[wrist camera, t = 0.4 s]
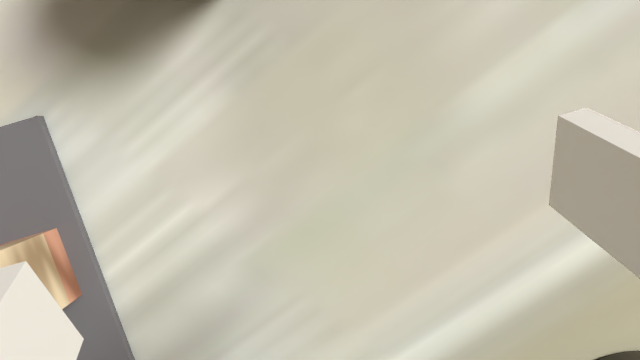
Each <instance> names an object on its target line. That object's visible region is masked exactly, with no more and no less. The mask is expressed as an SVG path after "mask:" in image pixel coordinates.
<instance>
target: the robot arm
mask: <svg viewBox="0 0 640 360" xmlns="http://www.w3.org/2000/svg"><path fill="white" fill-rule="evenodd" d="M549 205H550V206H551V207H552V208H553V209H555V210H556V211H557V212H558V213H560V214H561V215H562V216H563V217H564V218H566V219H567V220H568V221H569V222H571V223H572V224H573V225H574V226H576V227H577V228H578V229H579V230H580V231H582V232H583V233H584V234H585V235H587V236H588V237H589V238H590V239H592V240H593V241H594V242H595V243H597V244H598V245H599V246H600V247H601V248H603V249H604V250H605V251H606V252H608V253H609V254H610V255H611V256H613V257H614V258H615V259H616V260H617V261H619V262H620V263H621V264H622V265H624V266H625V267H626V268H627V269H629V270H630V271H631V272H632V273H634V274H635V275H636V276H637V277H638V278H640V132H638V131H636V130H634V129H632V128H630V127H628V126H625V125H623V124H621V123H619V122H617V121H614V120H612V119H610V118H608V117H606V116H604V115H601V114H599V113H597V112H595V111H593V110H590V109H588V108H583V109H580V110H576V111H572V112H569V113H565V114H561V115H558V121H557V131H556V140H555V150H554V160H553V170H552V179H551V189H550V199H549ZM83 340H84V339H83V337H82V336H81V334H80V333H79V332H78V330H77V329H76V328H75V326H74V325H73V324H72V322H71V321H70V320H69V318H68V317H67V316H66V314H65V313H64V312H63V310H62V309H61V308H60V306H59V305H58V303H57V302H56V301H55V299H54V298H53V297H52V295H51V294H50V293H49V291H48V290H47V289H46V287H45V286H44V285H43V283H42V282H41V281H40V279H39V278H38V277H37V275H36V274H35V272H34V271H33V270H32V268H31V267H30V266H29V264H28V263H27V262H26V261H24V262H20V263H17V264H13V265H9V266H6V267H2V268H0V360H76V359H77V357H78V354H79V351H80V348H81V345H82V343H83ZM598 360H640V351H630V352H622V353H617V354H613V355H610V356H606V357H603V358H601V359H598Z"/></svg>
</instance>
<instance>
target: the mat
mask: <svg viewBox="0 0 640 360" xmlns="http://www.w3.org/2000/svg"><path fill="white" fill-rule="evenodd" d="M55 228H57V230H58V233H59V235H60V238H61V241H62V243H63V246H64V248H65V251H66V254H67V256H68V259H69V261H70V264H71V267H72V269H73V272H74V274H75V277H76V280H77V282H78V285H79V287H80V290H81V293H82V295H81V296H80V297H78V298H77V299H76V300H74V301H73V302H71V303H70V304H69V305H67V306H66V307H65V308H63V309H62V310H63V312H64V313H65V314H66V316H67V317H68V318H69V320H70V321H71V322H72V324H73V325H74V326H75V328H76V329H77V330H78V332H79V333H80V334H81V336H82V337H83V339H84V340H83V343H82V345H81V348H80V351H79V354H78V357H77V359H76V360H135V359H134V357H133V354H132V352H131V349H130V346H129V344H128V341H127V338H126V336H125V333H124V330H123V328H122V325H121V322H120V320H119V317H118V314H117V312H116V309H115V306H114V304H113V301H112V298H111V296H110V293H109V290H108V288H107V285H106V282H105V280H104V277H103V274H102V272H101V269H100V266H99V264H98V261H97V258H96V256H95V253H94V250H93V248H92V245H91V242H90V240H89V237H88V234H87V232H86V229H85V226H84V224H83V221H82V219H81V216H80V213H79V211H78V208H77V205H76V203H75V200H74V197H73V195H72V192H71V189H70V187H69V184H68V181H67V179H66V176H65V173H64V171H63V168H62V165H61V163H60V160H59V157H58V155H57V152H56V149H55V147H54V144H53V141H52V139H51V136H50V133H49V131H48V128H47V125H46V123H45V120H44V117H43V116H36V117H33V118H29V119H26V120H23V121H19V122H16V123H12V124H9V125H6V126H2V127H0V245H1V244H4V243H7V242H11V241H14V240H18V239H21V238H24V237H28V236H31V235H34V234H38V233H41V232H45V231H48V230H51V229H55Z"/></svg>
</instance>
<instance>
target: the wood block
mask: <svg viewBox="0 0 640 360" xmlns="http://www.w3.org/2000/svg"><path fill="white" fill-rule="evenodd" d="M24 261H26V262H27V263H28V264H29V266H30V267H31V268H32V270H33V271H34V272H35V274H36V275H37V277H38V278H39V279H40V281H41V282H42V283H43V285H44V286H45V287H46V289H47V290H48V291H49V293H50V294H51V295H52V297H53V298H54V299H55V301H56V302H57V303H58V305H59V306H60V308H61V309H63V308H65V307H66V306H67V305H69V304H70V303H71V302H73V301H74V300H76V299H77V298H78V297H80V296H81V295H82V293H81V290H80V287H79V285H78V282H77V280H76V277H75V274H74V272H73V269H72V267H71V264H70V261H69V259H68V256H67V254H66V251H65V248H64V246H63V243H62V241H61V238H60V235H59V233H58V230H57V228H55V229H51V230H48V231H45V232H41V233H38V234H34V235H31V236H28V237H24V238H21V239H18V240H14V241H11V242H7V243H4V244H1V245H0V268H2V267H6V266H9V265H13V264H17V263H20V262H24Z"/></svg>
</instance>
